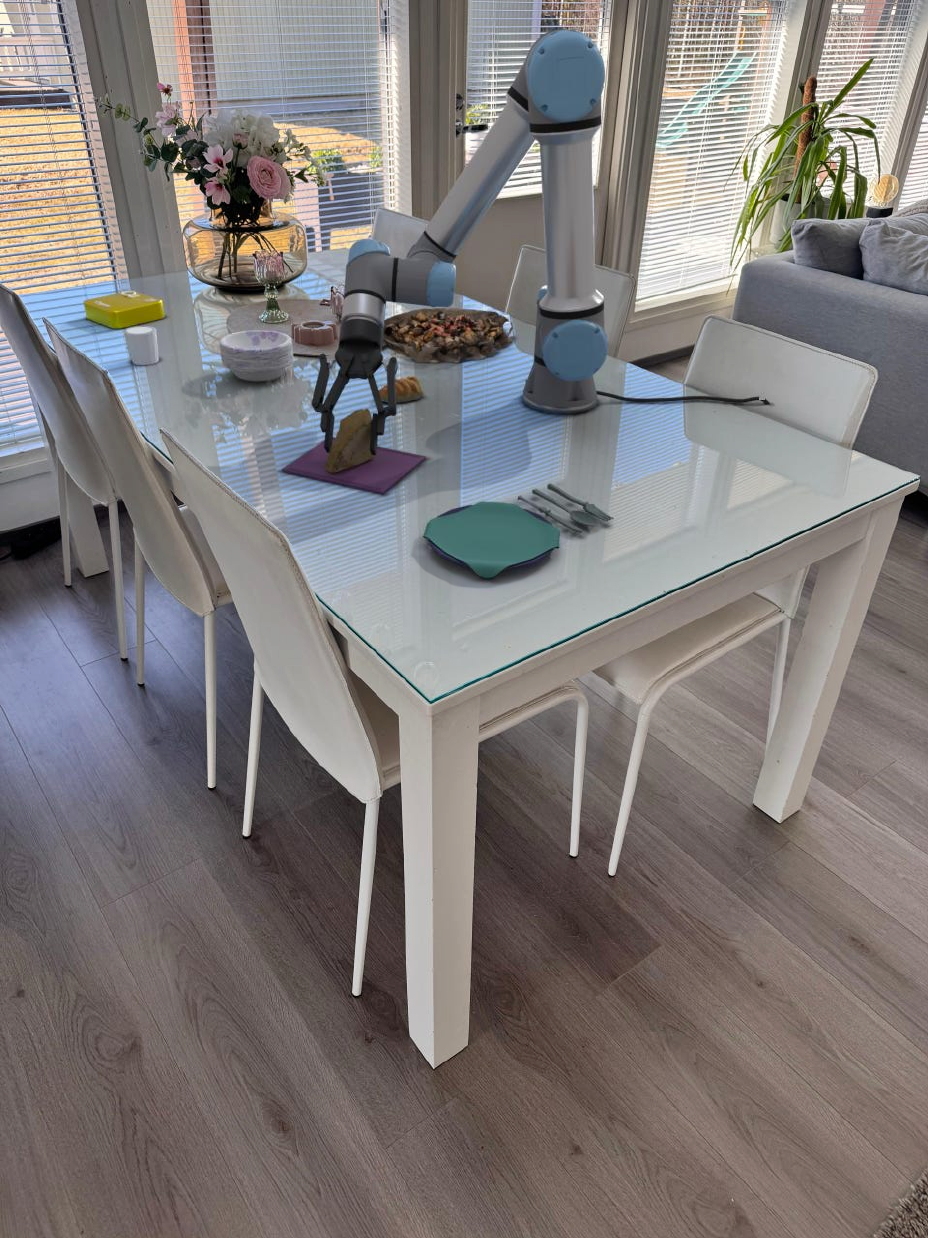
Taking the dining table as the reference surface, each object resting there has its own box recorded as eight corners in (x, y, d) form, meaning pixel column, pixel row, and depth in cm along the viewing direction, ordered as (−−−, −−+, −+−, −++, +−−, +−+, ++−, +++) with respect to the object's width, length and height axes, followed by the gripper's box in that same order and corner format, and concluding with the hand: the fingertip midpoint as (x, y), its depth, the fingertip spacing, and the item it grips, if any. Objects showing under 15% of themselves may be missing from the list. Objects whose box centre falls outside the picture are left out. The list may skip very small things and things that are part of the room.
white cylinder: (123, 363, 199) (116, 331, 195) (143, 354, 204) (137, 323, 200) (148, 367, 197) (142, 335, 193) (167, 358, 202) (162, 327, 198)
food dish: (467, 377, 198) (467, 343, 193) (349, 353, 212) (346, 320, 208) (540, 333, 222) (542, 301, 217) (430, 314, 236) (429, 283, 232)
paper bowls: (289, 361, 202) (285, 325, 198) (299, 383, 190) (296, 346, 186) (220, 366, 198) (215, 330, 194) (227, 390, 186) (222, 352, 182)
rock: (328, 469, 149) (385, 453, 151) (312, 421, 149) (368, 405, 151) (325, 483, 159) (378, 467, 161) (310, 437, 159) (363, 422, 161)
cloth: (426, 458, 160) (426, 456, 160) (383, 494, 148) (383, 491, 148) (330, 438, 166) (330, 436, 166) (282, 471, 154) (281, 468, 154)
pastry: (389, 407, 180) (388, 389, 178) (370, 398, 184) (369, 380, 182) (426, 397, 185) (426, 379, 183) (407, 388, 189) (406, 371, 187)
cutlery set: (400, 538, 136) (399, 524, 135) (544, 486, 151) (545, 473, 150) (482, 594, 123) (483, 580, 122) (631, 532, 139) (633, 518, 137)
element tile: (83, 317, 227) (79, 298, 224) (135, 306, 236) (132, 287, 234) (116, 330, 219) (112, 310, 216) (168, 317, 228) (165, 298, 226)
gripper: (420, 340, 159) (410, 461, 155) (310, 335, 160) (297, 456, 156) (416, 318, 152) (406, 445, 148) (301, 313, 153) (287, 439, 149)
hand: (350, 450), depth 152 cm, fingers closed on rock, 7 cm apart
